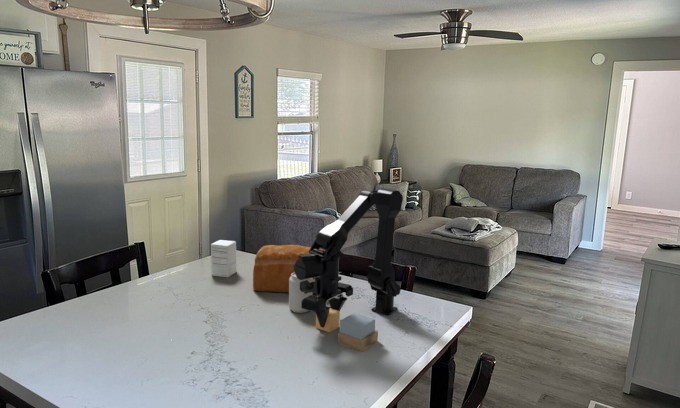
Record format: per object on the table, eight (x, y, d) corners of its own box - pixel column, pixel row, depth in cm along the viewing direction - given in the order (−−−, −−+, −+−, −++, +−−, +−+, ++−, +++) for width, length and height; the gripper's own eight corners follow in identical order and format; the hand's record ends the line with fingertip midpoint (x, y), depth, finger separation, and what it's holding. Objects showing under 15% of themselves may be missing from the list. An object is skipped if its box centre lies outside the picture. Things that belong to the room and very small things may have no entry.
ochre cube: (325, 322, 151) (325, 306, 150) (339, 326, 148) (339, 310, 147) (315, 328, 147) (316, 312, 146) (329, 332, 144) (329, 316, 143)
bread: (259, 280, 188) (259, 239, 186) (328, 282, 187) (329, 242, 184) (250, 292, 175) (250, 249, 172) (325, 296, 173) (325, 252, 171)
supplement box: (220, 270, 199) (219, 239, 196) (237, 272, 197) (236, 241, 195) (210, 275, 192) (210, 243, 189) (228, 277, 190) (227, 245, 188)
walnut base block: (353, 334, 144) (353, 323, 143) (377, 342, 140) (377, 330, 139) (337, 344, 137) (338, 332, 137) (362, 353, 133) (362, 340, 132)
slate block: (354, 324, 143) (354, 312, 142) (374, 330, 139) (375, 319, 138) (339, 332, 137) (339, 320, 136) (360, 339, 133) (361, 327, 132)
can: (308, 315, 156) (309, 278, 154) (285, 312, 158) (286, 276, 156) (314, 306, 164) (315, 271, 162) (292, 304, 165) (293, 269, 163)
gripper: (325, 261, 157) (324, 308, 159) (286, 275, 141) (286, 327, 144) (354, 267, 151) (353, 316, 153) (318, 284, 135) (317, 337, 138)
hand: (327, 324), depth 147 cm, fingers closed on ochre cube, 5 cm apart
